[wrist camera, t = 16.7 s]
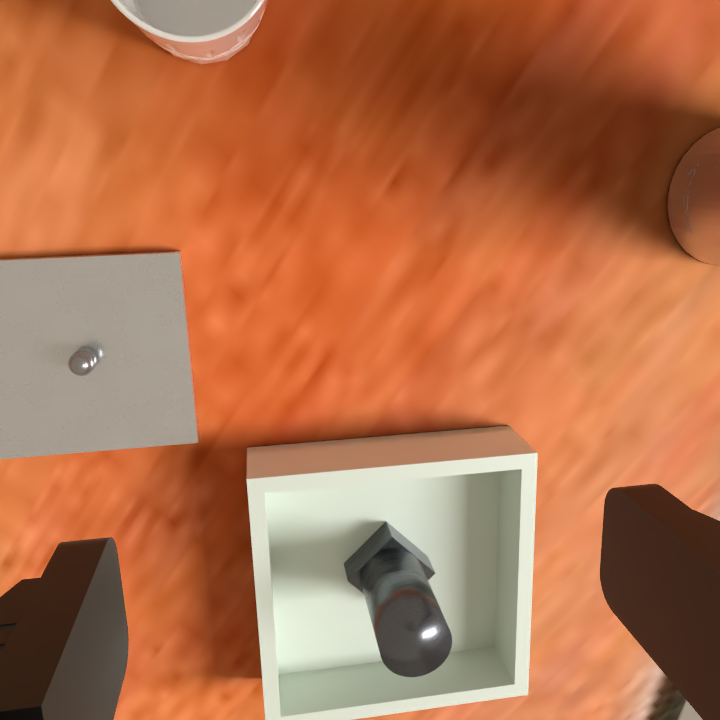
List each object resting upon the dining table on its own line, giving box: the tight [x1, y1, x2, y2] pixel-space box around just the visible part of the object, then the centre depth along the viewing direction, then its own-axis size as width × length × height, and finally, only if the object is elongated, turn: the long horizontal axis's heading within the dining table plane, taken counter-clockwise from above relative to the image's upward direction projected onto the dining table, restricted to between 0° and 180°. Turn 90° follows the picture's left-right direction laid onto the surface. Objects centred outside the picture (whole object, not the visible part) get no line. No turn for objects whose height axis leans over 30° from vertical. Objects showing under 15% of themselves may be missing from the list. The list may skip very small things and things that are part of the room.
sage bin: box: [247, 426, 538, 720], centre depth 46 cm, size 18×18×5 cm
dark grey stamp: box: [344, 521, 452, 677], centre depth 43 cm, size 4×4×9 cm
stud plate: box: [0, 251, 199, 459], centre depth 41 cm, size 12×12×3 cm
